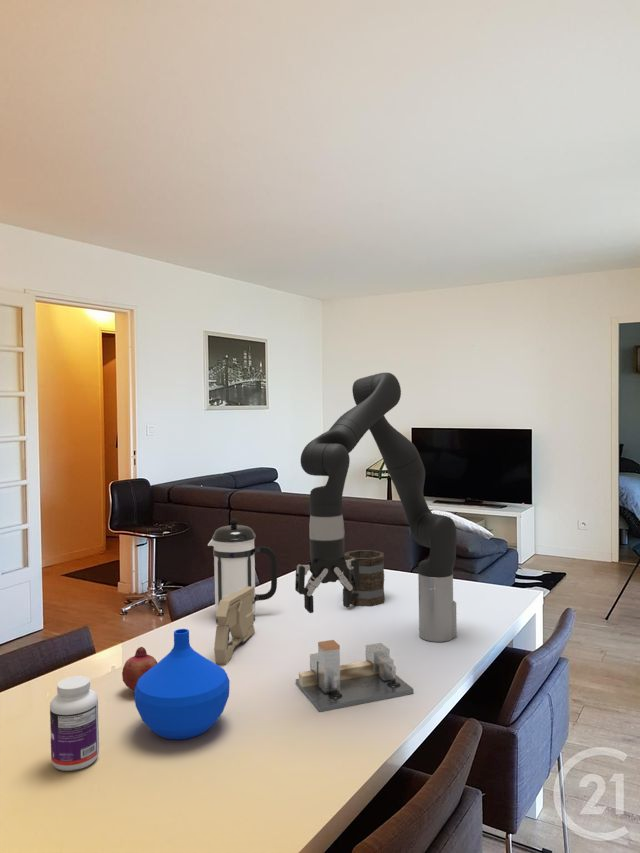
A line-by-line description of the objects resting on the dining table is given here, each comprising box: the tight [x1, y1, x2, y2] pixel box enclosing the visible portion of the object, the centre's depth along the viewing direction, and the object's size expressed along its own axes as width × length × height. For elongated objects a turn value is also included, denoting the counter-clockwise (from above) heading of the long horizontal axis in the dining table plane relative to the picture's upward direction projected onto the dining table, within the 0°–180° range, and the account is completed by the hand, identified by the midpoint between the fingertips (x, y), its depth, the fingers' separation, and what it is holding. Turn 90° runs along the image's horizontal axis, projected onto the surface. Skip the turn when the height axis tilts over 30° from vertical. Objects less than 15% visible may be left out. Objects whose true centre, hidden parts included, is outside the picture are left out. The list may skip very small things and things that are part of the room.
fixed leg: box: [365, 642, 397, 684], centre depth 149 cm, size 4×11×5 cm, turn 21°
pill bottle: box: [49, 675, 100, 772], centre depth 116 cm, size 8×8×14 cm
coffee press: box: [207, 517, 278, 624], centre depth 196 cm, size 17×16×30 cm
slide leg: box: [309, 639, 341, 695], centre depth 143 cm, size 4×11×10 cm, turn 21°
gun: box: [213, 586, 256, 666], centre depth 171 cm, size 24×3×15 cm, turn 168°
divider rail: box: [298, 660, 379, 687], centre depth 149 cm, size 22×2×2 cm, turn 111°
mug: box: [343, 549, 386, 607], centre depth 208 cm, size 20×14×15 cm
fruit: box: [121, 646, 158, 691], centre depth 145 cm, size 8×8×10 cm
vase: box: [133, 628, 230, 741], centre depth 128 cm, size 18×18×19 cm
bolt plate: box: [295, 674, 414, 713], centre depth 145 cm, size 22×15×1 cm
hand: (328, 609), depth 142 cm, fingers open, 8 cm apart
